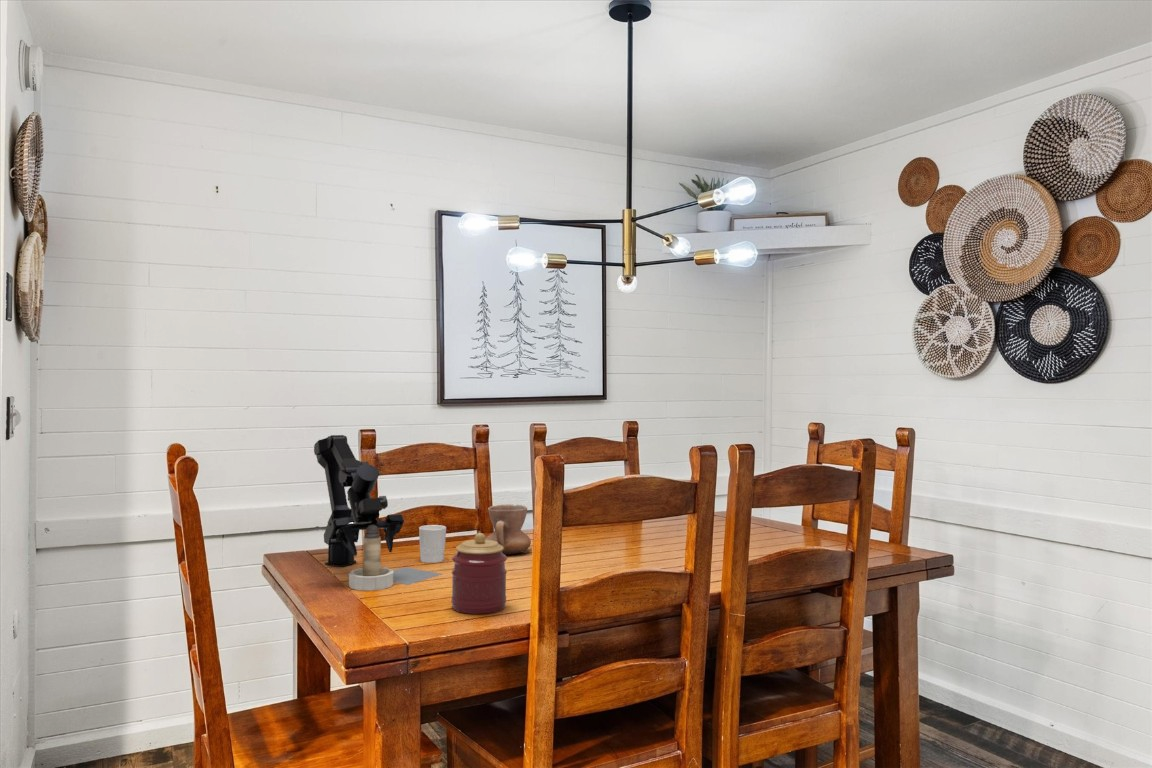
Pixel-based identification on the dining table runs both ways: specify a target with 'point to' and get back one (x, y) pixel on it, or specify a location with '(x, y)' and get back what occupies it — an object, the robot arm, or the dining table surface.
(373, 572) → the pepper mill
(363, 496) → the robot arm
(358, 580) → the bowl
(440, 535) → the white cup
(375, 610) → the dining table surface
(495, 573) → the canister
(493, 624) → the dining table surface
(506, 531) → the ceramic jug
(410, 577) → the felt mat
